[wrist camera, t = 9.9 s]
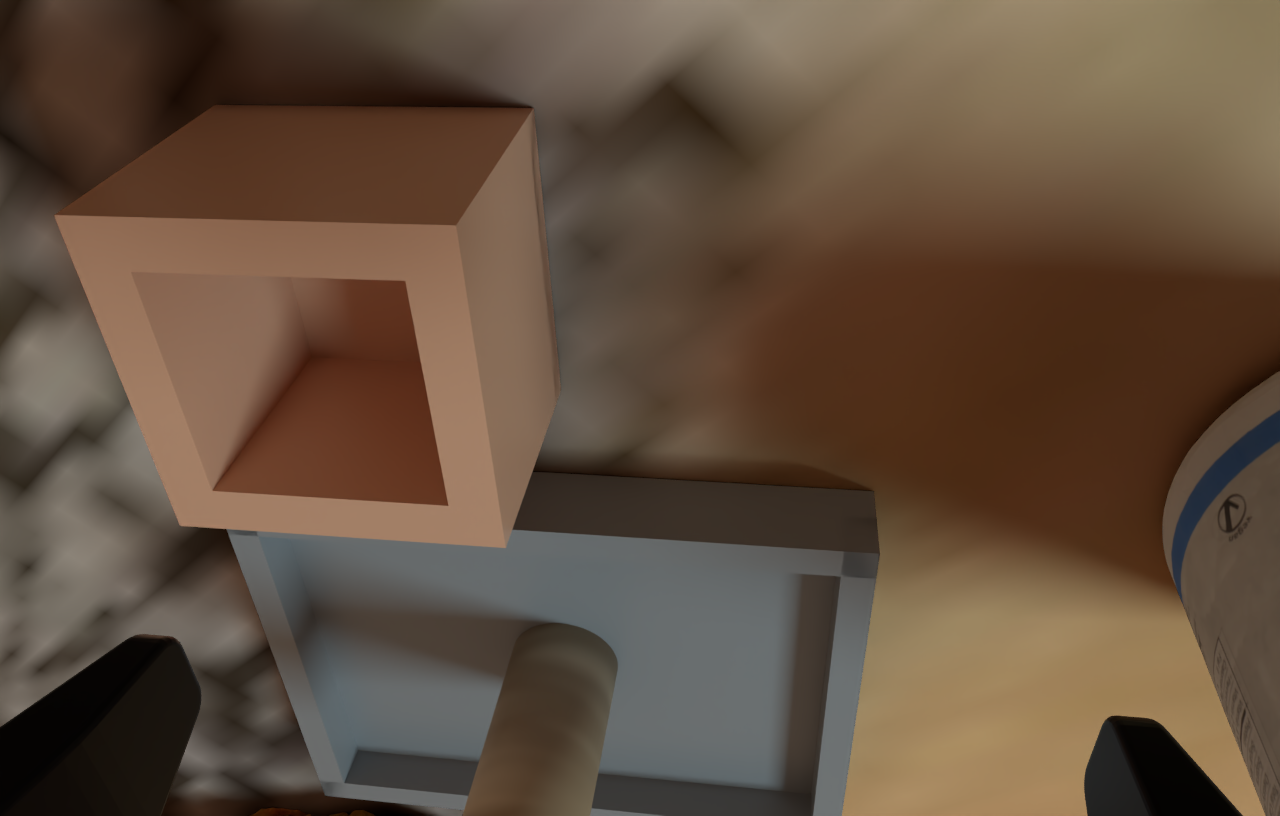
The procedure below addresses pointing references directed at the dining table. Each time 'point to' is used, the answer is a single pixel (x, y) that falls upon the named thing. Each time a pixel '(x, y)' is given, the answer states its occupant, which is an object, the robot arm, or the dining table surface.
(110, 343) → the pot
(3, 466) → the dining table surface
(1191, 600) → the supplement tub
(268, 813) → the croissant
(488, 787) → the dowel
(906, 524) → the dining table surface
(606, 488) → the tray
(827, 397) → the dining table surface
